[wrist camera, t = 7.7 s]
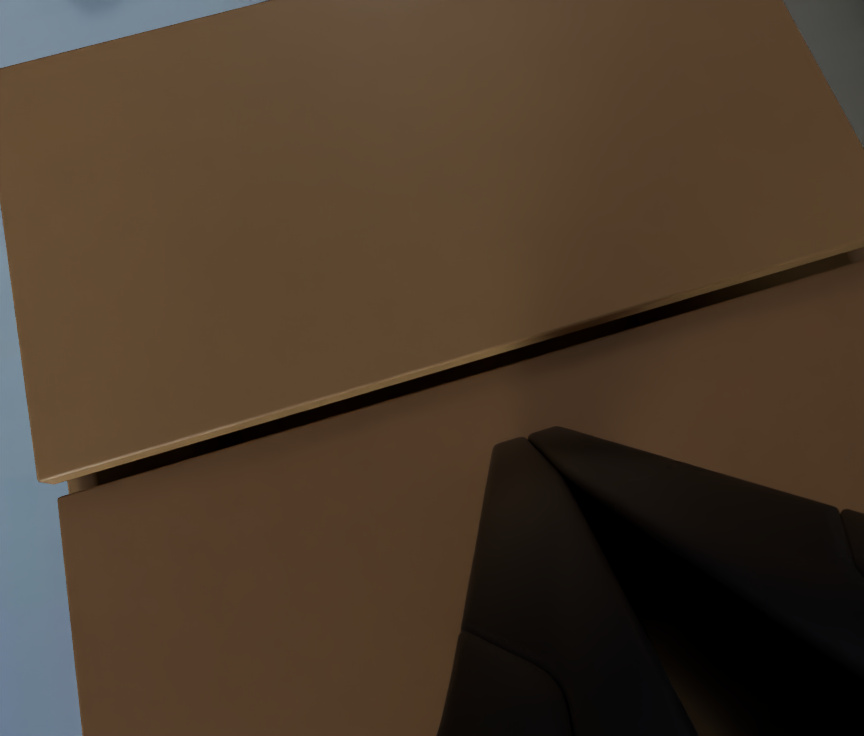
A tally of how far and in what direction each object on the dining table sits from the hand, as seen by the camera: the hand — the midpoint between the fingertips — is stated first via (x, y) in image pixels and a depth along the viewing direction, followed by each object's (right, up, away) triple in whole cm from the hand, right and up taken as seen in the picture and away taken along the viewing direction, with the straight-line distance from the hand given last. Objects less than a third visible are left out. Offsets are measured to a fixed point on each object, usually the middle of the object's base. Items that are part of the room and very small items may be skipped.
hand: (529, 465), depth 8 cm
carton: (0, -1, +9) cm, 9 cm away
